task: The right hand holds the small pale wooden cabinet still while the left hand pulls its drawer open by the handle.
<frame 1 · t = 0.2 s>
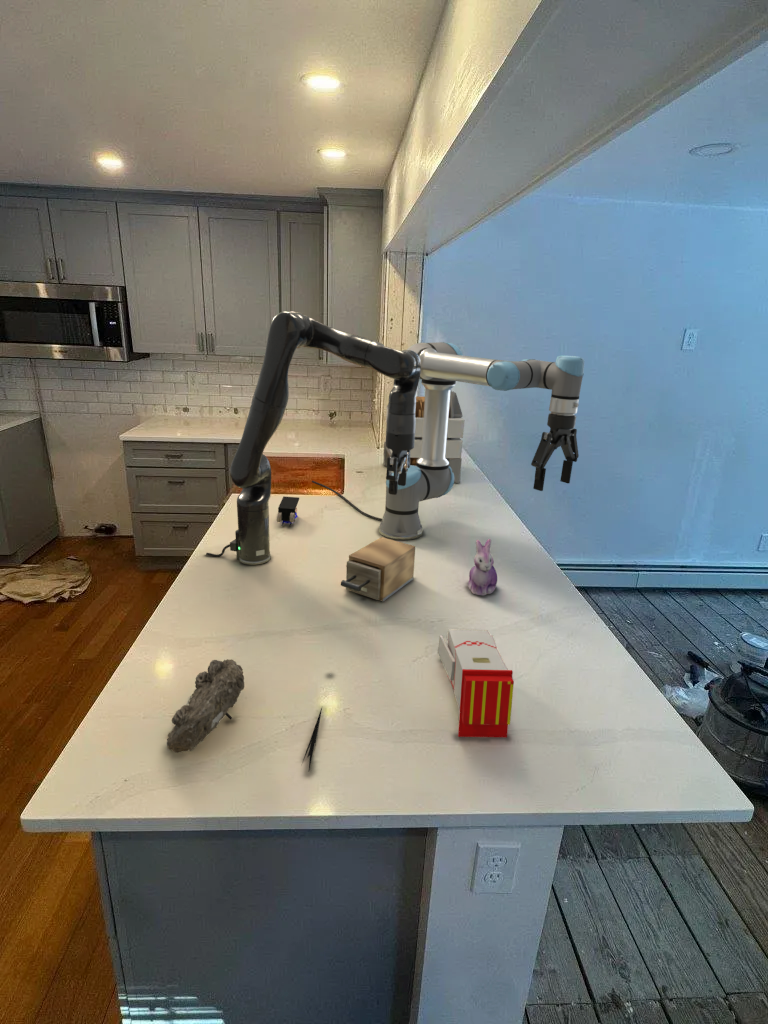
left hand: (397, 489, 152), 29 cm above the counter, tool pointing down, fingers open, 8 cm apart
right hand: (551, 486, 166), 28 cm above the counter, tool pointing down, fingers open, 13 cm apart
figurine: (482, 589, 163), on the counter
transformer: (419, 473, 275), on the counter
feather: (319, 719, 109), on the counter
toy: (469, 691, 119), on the counter
drawer: (371, 574, 157), point 5 cm above the counter, slide at 0.7 cm
figurine character: (288, 521, 206), on the counter
fossil: (212, 717, 108), on the counter
cabinet: (381, 584, 163), on the counter
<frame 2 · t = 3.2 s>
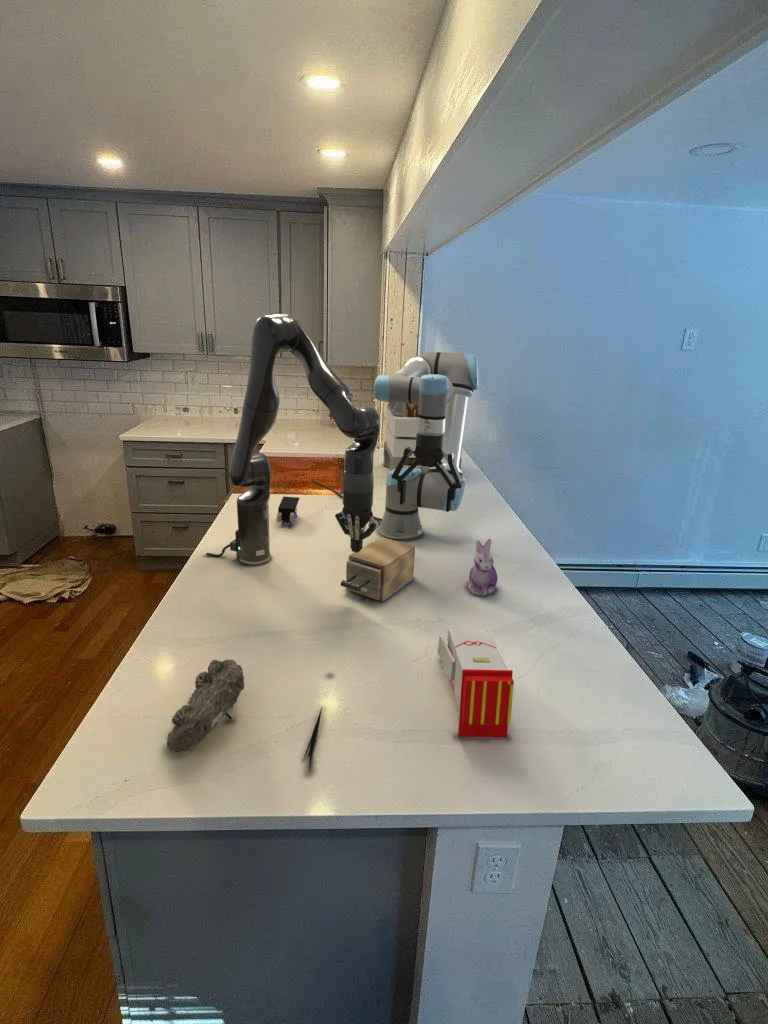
left hand: (356, 551, 147), 15 cm above the counter, tool pointing down, fingers closed
right hand: (425, 506, 161), 22 cm above the counter, tool pointing down, fingers open, 13 cm apart
nothing on the counter moved.
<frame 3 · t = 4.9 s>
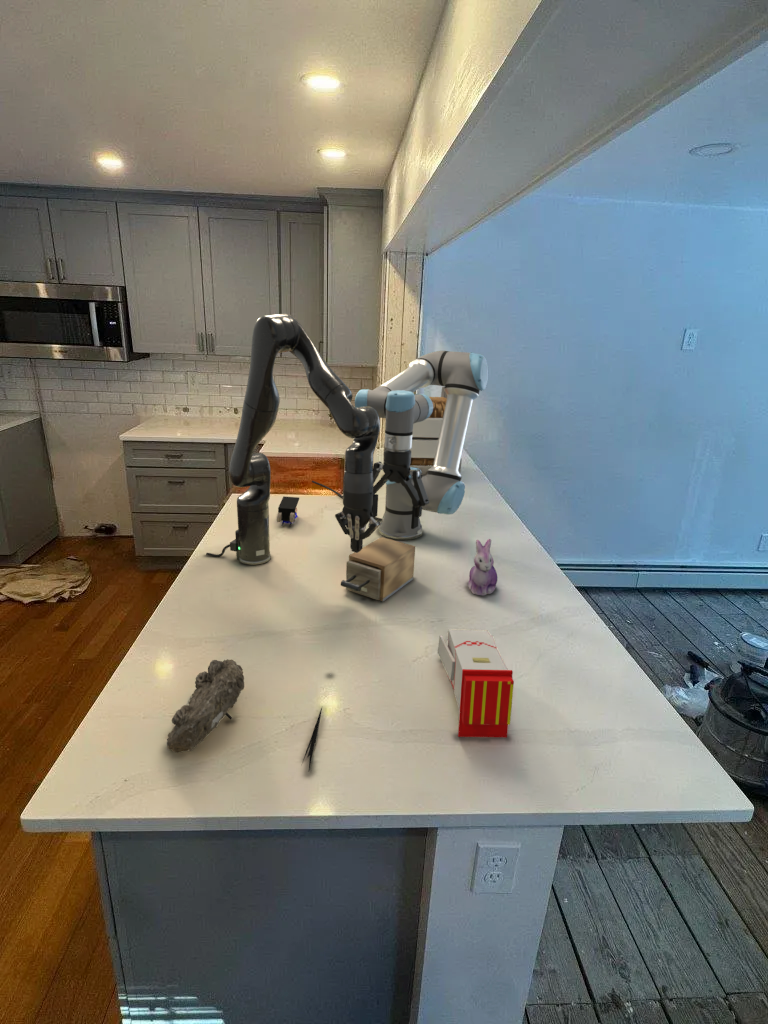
left hand: (356, 551, 147), 15 cm above the counter, tool pointing down, fingers closed
right hand: (393, 522, 161), 18 cm above the counter, tool pointing down, fingers open, 13 cm apart
nothing on the counter moved.
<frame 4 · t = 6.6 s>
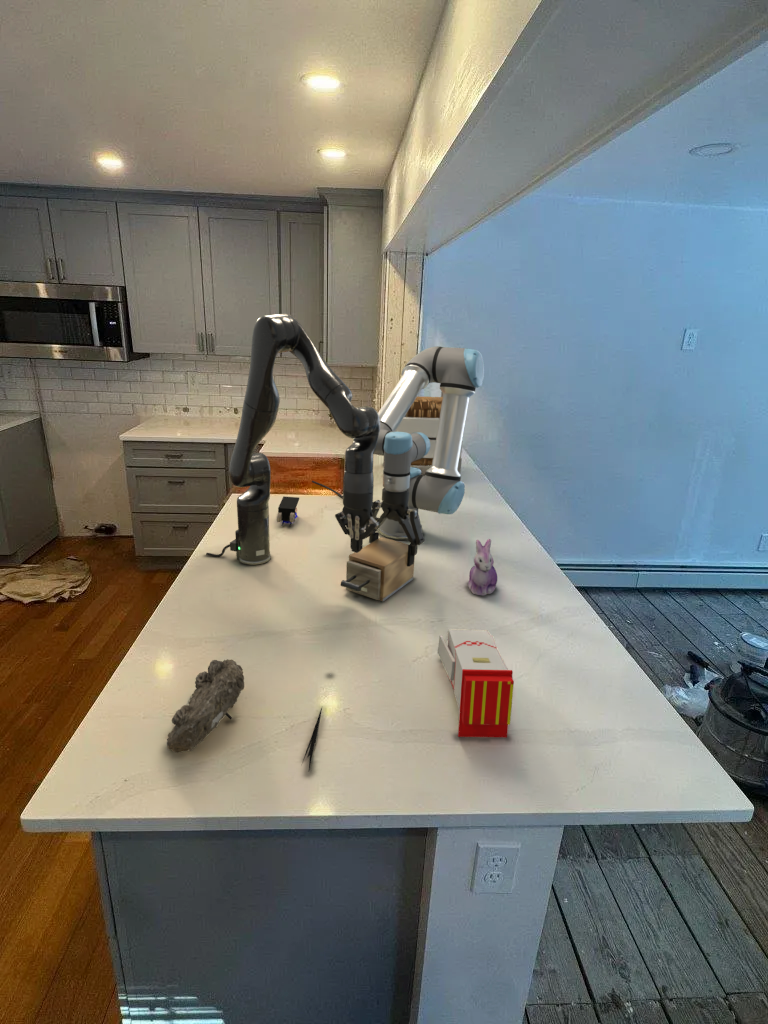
left hand: (356, 551, 147), 15 cm above the counter, tool pointing down, fingers closed
right hand: (392, 559, 165), 6 cm above the counter, tool pointing down, fingers closed on cabinet, 12 cm apart
cabinet: (381, 584, 163), on the counter, touching right hand
everything else where it was.
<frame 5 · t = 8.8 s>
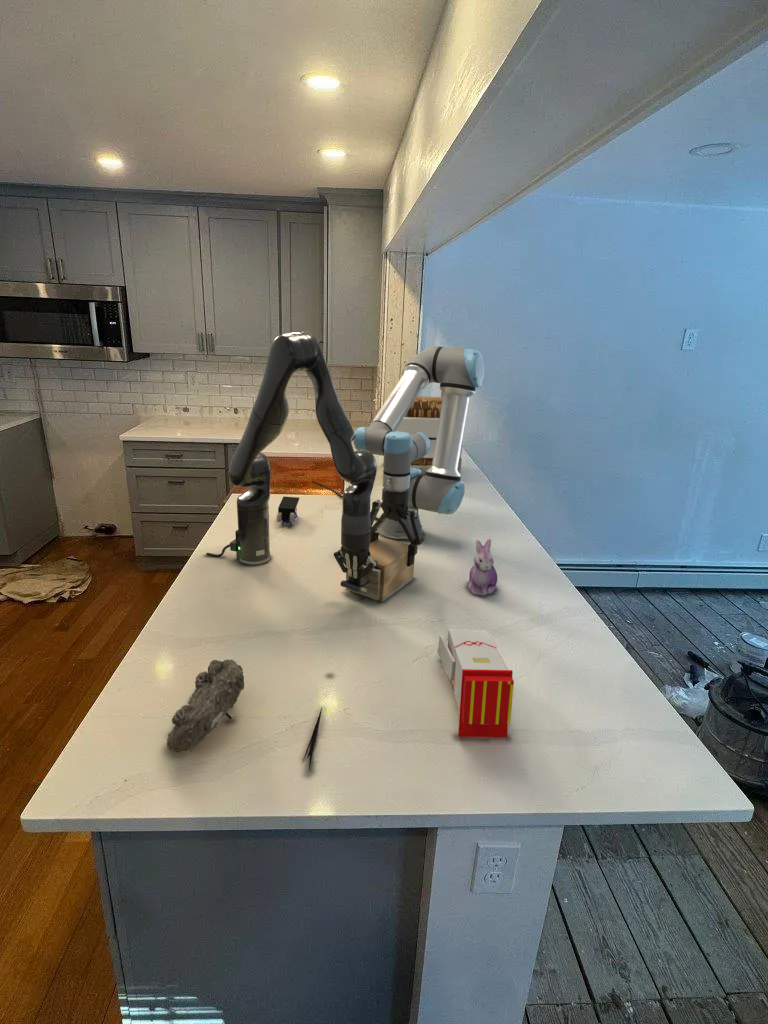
left hand: (354, 588, 151), 4 cm above the counter, tool pointing down, fingers closed
right hand: (392, 559, 165), 6 cm above the counter, tool pointing down, fingers closed on cabinet, 12 cm apart
drawer: (371, 574, 157), point 5 cm above the counter, slide at 0.9 cm, touching left hand
cabinet: (381, 583, 163), on the counter, touching right hand
everything else where it was.
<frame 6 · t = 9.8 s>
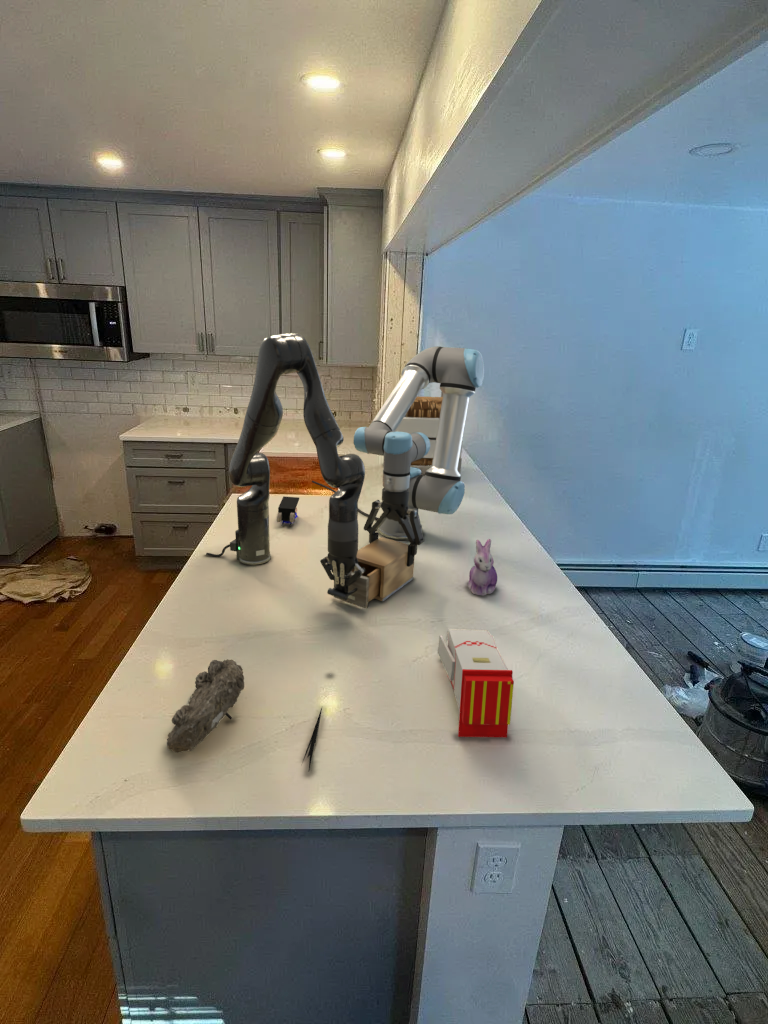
left hand: (342, 596, 146), 4 cm above the counter, tool pointing down, fingers closed
right hand: (391, 559, 165), 6 cm above the counter, tool pointing down, fingers closed on cabinet, 12 cm apart
drawer: (359, 581, 152), point 5 cm above the counter, slide at 6.3 cm, touching left hand
cabinet: (381, 584, 163), on the counter, touching right hand
everything else where it was.
when the right hand's fingers open (6 cm above the counter, at t = 11.5 s): cabinet stays where it is, on the counter.
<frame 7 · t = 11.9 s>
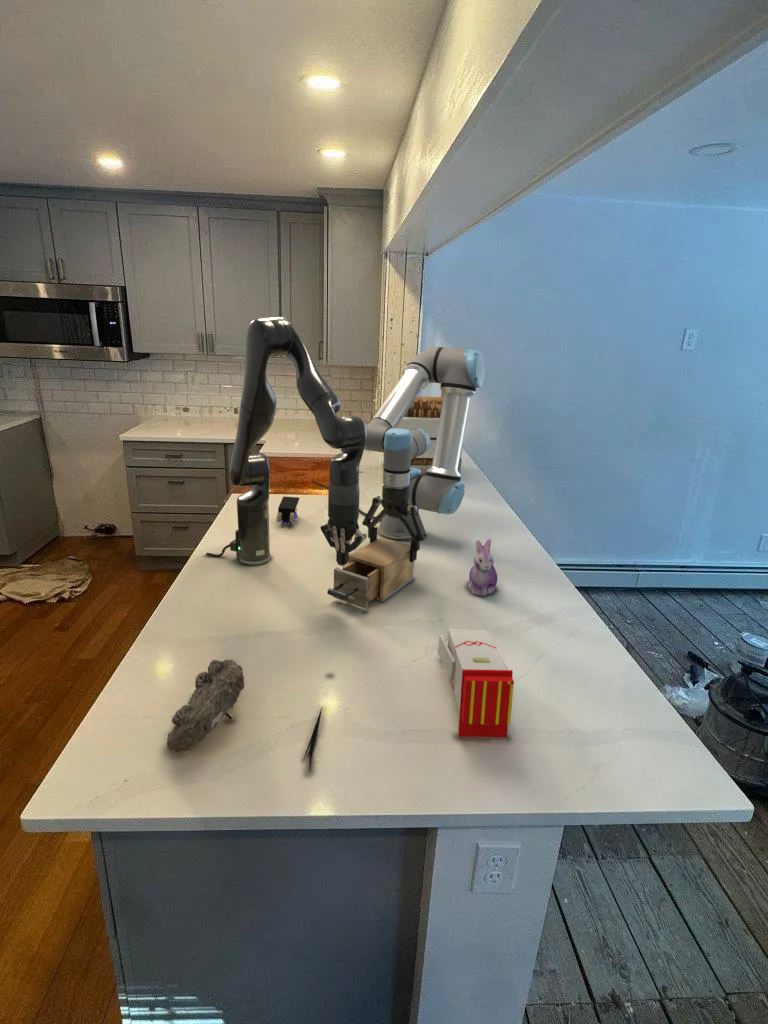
left hand: (342, 564, 143), 14 cm above the counter, tool pointing down, fingers closed
right hand: (392, 554, 165), 7 cm above the counter, tool pointing down, fingers open, 13 cm apart
drawer: (359, 582, 152), point 5 cm above the counter, slide at 6.3 cm
cabinet: (381, 584, 163), on the counter
everything else where it was.
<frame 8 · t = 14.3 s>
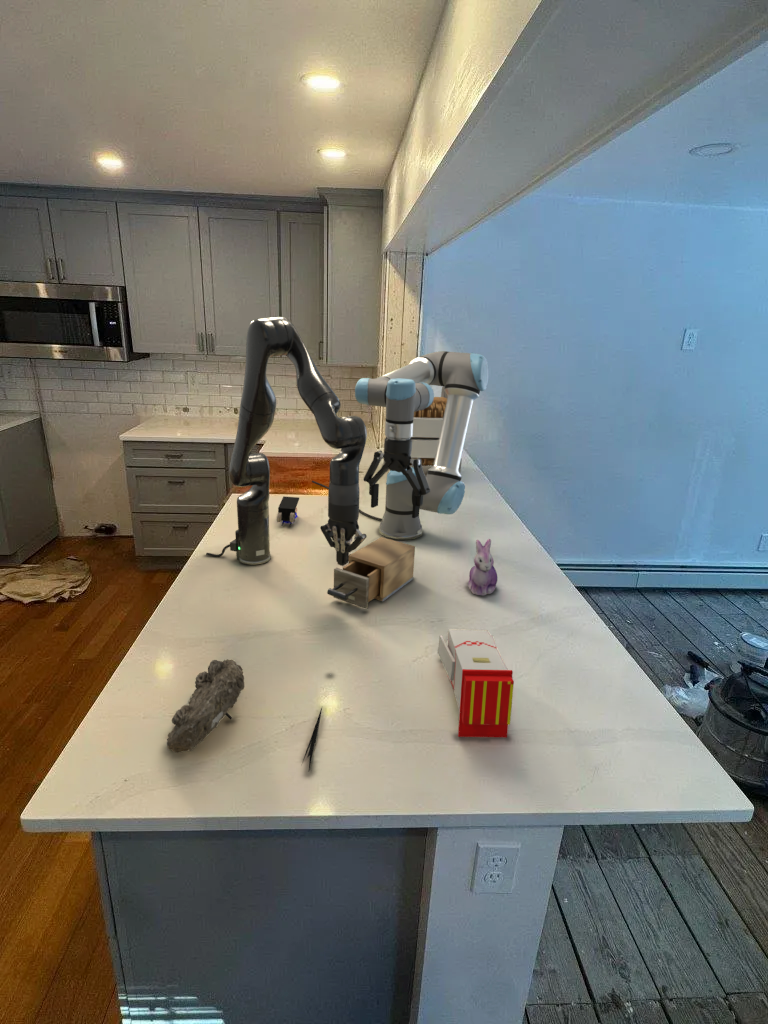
left hand: (342, 564, 143), 14 cm above the counter, tool pointing down, fingers closed
right hand: (394, 511, 160), 21 cm above the counter, tool pointing down, fingers open, 13 cm apart
nothing on the counter moved.
at the end: drawer slide at 6.3 cm; cabinet tilted 0°; cabinet never tilted more than 1° during the clip; cabinet moved 0.1 cm from its start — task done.
